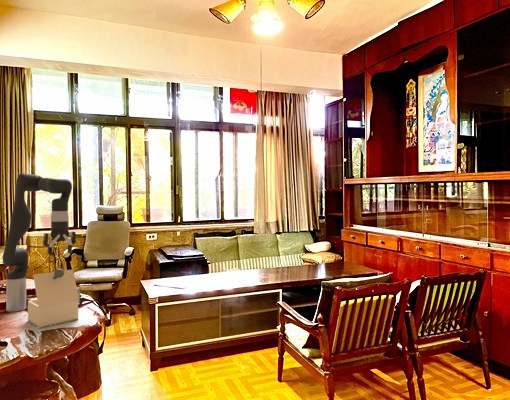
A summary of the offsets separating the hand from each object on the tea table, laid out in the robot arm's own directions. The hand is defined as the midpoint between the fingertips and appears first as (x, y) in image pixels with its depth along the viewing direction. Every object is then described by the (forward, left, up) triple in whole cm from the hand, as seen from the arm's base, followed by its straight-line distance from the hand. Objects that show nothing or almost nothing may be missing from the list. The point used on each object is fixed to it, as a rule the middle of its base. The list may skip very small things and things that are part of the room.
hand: (59, 253), depth 187 cm
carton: (-9, 0, -34) cm, 35 cm away
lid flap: (-5, 0, -17) cm, 18 cm away
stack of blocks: (-27, +12, -34) cm, 45 cm away
